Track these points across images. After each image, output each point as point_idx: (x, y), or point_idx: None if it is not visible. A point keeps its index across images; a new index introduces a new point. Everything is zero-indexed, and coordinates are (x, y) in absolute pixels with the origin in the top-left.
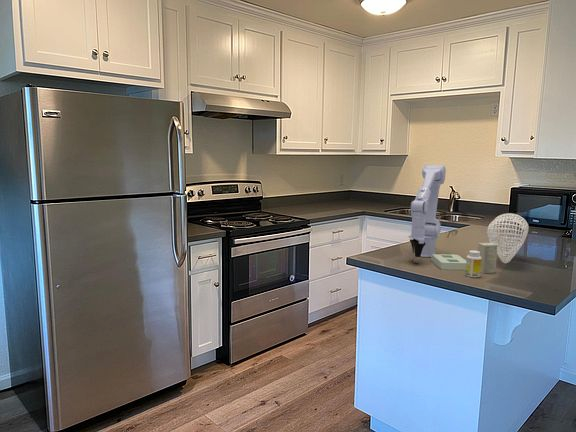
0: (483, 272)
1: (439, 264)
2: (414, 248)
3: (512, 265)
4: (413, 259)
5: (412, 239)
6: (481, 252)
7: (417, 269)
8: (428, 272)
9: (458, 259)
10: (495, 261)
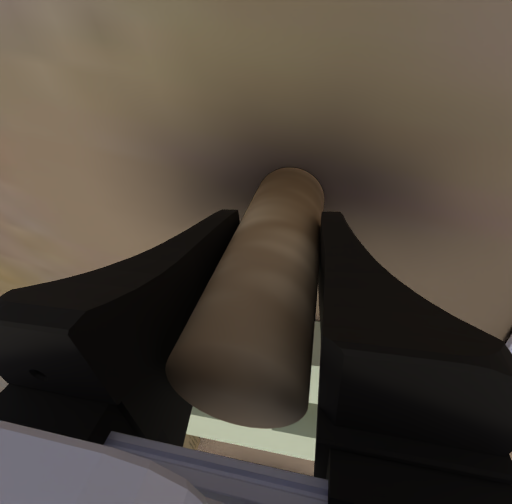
0: None
1: None
2: (153, 255)
3: None
4: (274, 180)
5: (496, 444)
6: None
7: (52, 152)
8: (20, 212)
9: (229, 428)
10: None
